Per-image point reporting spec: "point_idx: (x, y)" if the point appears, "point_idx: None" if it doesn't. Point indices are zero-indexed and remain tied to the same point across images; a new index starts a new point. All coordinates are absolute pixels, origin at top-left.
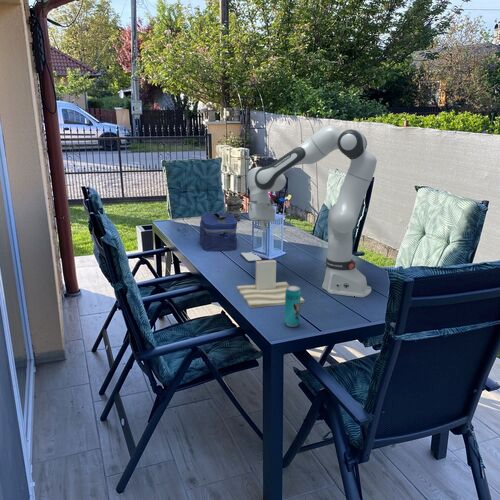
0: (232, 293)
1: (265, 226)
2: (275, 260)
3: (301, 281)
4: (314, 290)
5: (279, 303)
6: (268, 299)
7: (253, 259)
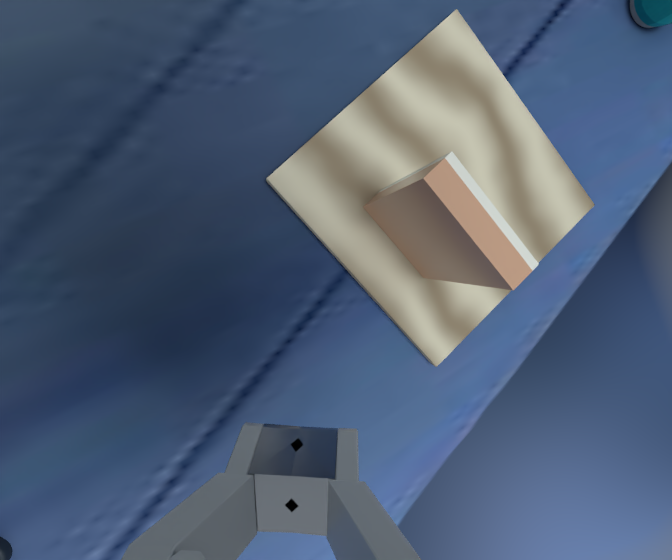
0: (488, 347)
1: (286, 474)
2: (438, 164)
3: (178, 117)
4: (279, 10)
5: (523, 108)
6: (515, 164)
7: None
